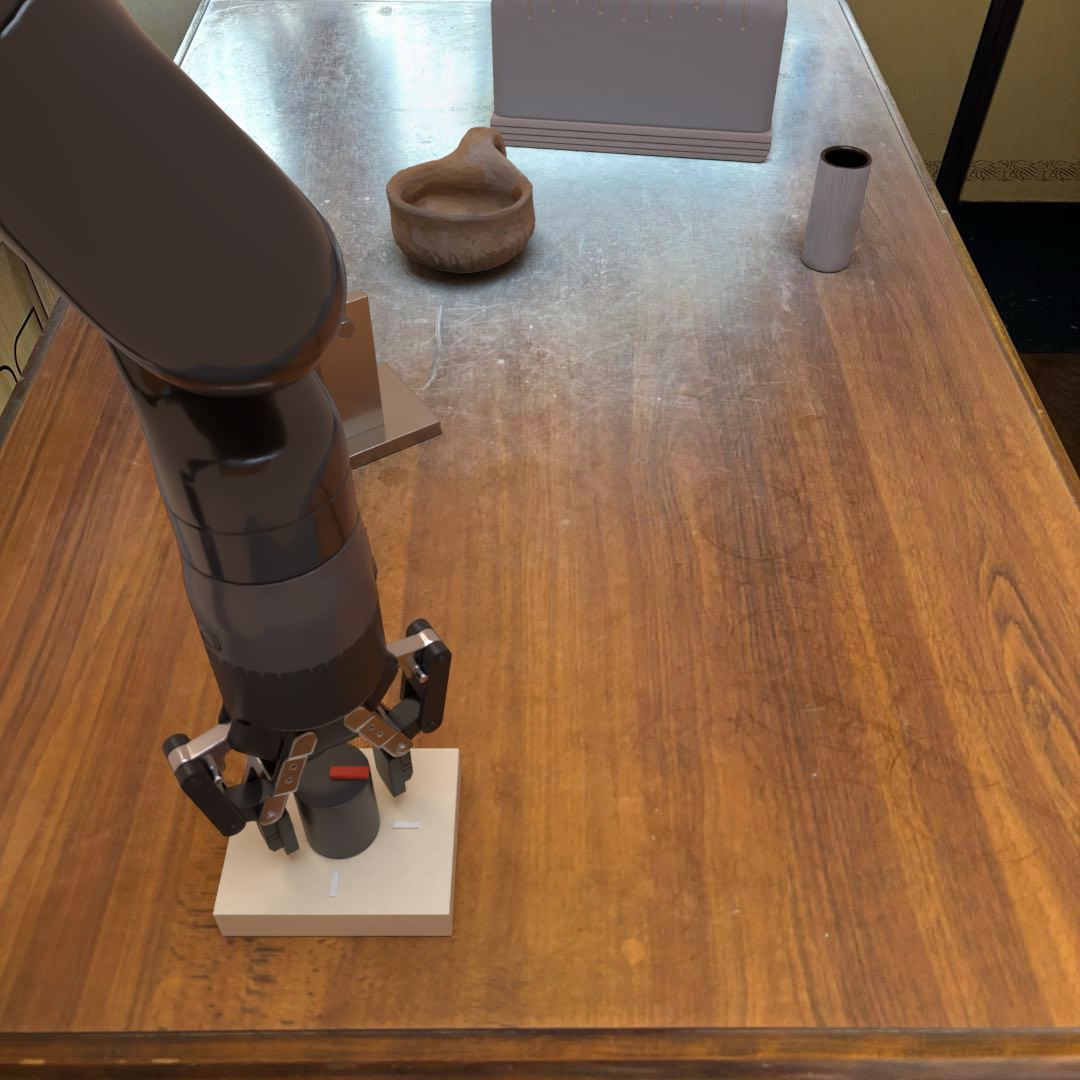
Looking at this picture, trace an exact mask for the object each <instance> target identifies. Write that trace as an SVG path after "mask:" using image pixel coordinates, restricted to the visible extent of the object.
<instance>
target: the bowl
mask: <svg viewBox="0 0 1080 1080" xmlns="http://www.w3.org/2000/svg"><path fill="white" fill-rule="evenodd" d="M457 145H458V146H457V147H456V149H454V150H453V151H451V152H450V153H449V154H447V155H445V156H443V157H441V158H438V159H433V160H429V161H425V162H422V163H418V164H415V165H412V166H408V167H406V168H402V169H400V170H398V171H397V172H396V173H395V174H393V175H392V176H391V177H390V179H389V180H388V182H387V183H386V186H385V193H386V194H385V195H386V198H387V202H388V206H389V215H390V229H391V232H392V236H393V239H394V243H395V244H396V246H397V247H398V248H399V249H400V251H401V252H402V253H403V254H404V255H406V256H407V257H408V258H409V259H412V260H413V261H414V262H417V263H419V264H422V265H423V266H426V267H429V268H431V269H434V270H437V271H440V272H441V271H442V272H447V273H455V274H468V273H470V274H471V273H472V274H473V273H477V272H482V271H487V270H490V269H493V268H496V267H499V266H501V265H502V264H505V263H508V262H510V261H511V260H512V259H513V258H515V257H516V256H518V255H519V254H520V253H521V252H522V251H523V250H525V248H526V247H527V245H528V244H529V241H530V239H531V238H532V236H533V234H534V231H535V228H536V212H535V205H534V192H533V191H534V189H533V188H534V186H533V184H532V182H531V181H530V180H529V178H528V177H527V176H526V175H525V174H524V173H523V172H522V171H521V170H520V169H519V168H518V167H517V166H516V165H515V164H514V163H513V162H512V161H511V160H509V158H508V155H507V148H506V145H505V143H504V140H503V137H502V136H501V134H500V133H499V132H498V131H497V130H495V129H493V128H490V127H488V126H472V127H470V128H469V129H468V130H467V131H466V132H465V134H464V135H463V136H462V137H461V139H460V141H459V143H458V144H457Z"/></svg>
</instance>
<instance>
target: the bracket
mask: <svg viewBox="0 0 1080 1080" xmlns="http://www.w3.org/2000/svg"><path fill="white" fill-rule="evenodd" d="M371 316H372V315H371V309H370V302H369V295H368V294H367V293H366V292H365V291H364V290H363V289H359V290H356V291H352V292H350V293H347V302H346V309H345V314H344V318H343V322H342V325H341V328H340V331H339V333H338V335H337V338H336V340H335V342H334V343H333V345H332V347H331V348H330V350H329V352H328V353H327V355H326V356H325V357H324V359H323V360H322V362H321V363H320V364H319V365H318V366H317V367H316V368H315V369H314V370H315V371H316V373H317V374H318V376H319V378H320V379H321V381H322V382H323V384H324V386H325V387H326V389H327V390H328V392H329V394H330V395H331V397H332V399H333V401H334V403H335V405H336V407H337V410H338V413H339V415H340V418H341V421H342V424H343V427H344V431H345V435H346V440H347V444H348V449H349V458H350V464H351V470H354V469H356V468H359V467H361V466H363V465H366V464H369V463H371V462H374V461H376V460H379V459H381V458H384V457H387V456H389V455H391V454H393V453H396V452H398V451H402V450H403V449H406V448H409V447H411V446H413V445H416V444H418V443H422V442H424V441H427V440H429V439H430V438H433V437H436V436H438V435H441V434H442V427H441V426H442V425H441V420H440V419H439V418H438V417H437V416H436V414H435V413H434V412H433V411H432V410H431V408H429V407H428V406H427V405H426V403H424V401H422V399H421V398H420V397H419V396H418V395H417V394H416V393H415V392H414V390H412V388H410V386H409V385H408V384H407V383H406V382H405V381H404V380H403V379H402V377H400V376H399V375H398V373H397V372H396V371H395V370H394V369H393V368H392V367H391V366H390V365H389V364H388V363H387V362H385V363H383V364H379V365H378V364H377V362H378V361H377V355H376V349H375V340H374V332H373V324H372V317H371Z"/></svg>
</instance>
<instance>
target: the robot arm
mask: <svg viewBox="0 0 1080 1080" xmlns="http://www.w3.org/2000/svg"><path fill="white" fill-rule="evenodd" d="M170 57H171V56H169V55H168V54H167V53H166V52H165V51H164V50H163V49H162V48H161V47H160V46H159V45H158V44H157V43H156V42H155V41H154V39H152V38H151V37H150V35H149V34H147V32H146V31H145V30H144V28H142V26H141V25H140V24H139V22H137V21H136V19H135V18H134V17H133V15H132V14H131V13H130V12H129V10H128V9H127V8H126V6H125V5H124V3H123V2H122V1H121V0H0V240H1V241H2V242H3V243H4V244H5V245H6V246H7V247H8V248H9V249H10V250H11V251H12V252H13V253H14V254H15V255H16V256H17V257H19V258H20V260H22V261H23V262H24V263H25V264H26V265H27V266H28V267H29V268H30V269H31V270H32V271H33V272H34V273H35V274H36V275H37V276H38V277H40V278H41V280H42V281H44V283H45V284H47V286H49V287H50V288H51V289H52V290H53V291H54V292H55V293H56V294H57V295H58V296H59V297H60V298H61V299H62V300H63V301H64V302H66V304H67V305H68V306H70V307H71V308H72V310H74V311H75V312H76V313H77V314H78V315H79V316H81V317H82V318H83V319H84V320H85V321H86V322H87V323H88V324H89V325H90V326H91V327H93V328H94V329H95V330H96V331H97V332H98V333H99V334H101V336H102V338H103V340H104V342H105V345H106V347H107V350H108V352H109V354H110V356H111V359H112V361H113V363H114V365H115V368H116V369H117V373H118V375H119V377H120V378H121V381H122V383H123V385H124V387H125V390H126V391H127V394H128V396H129V397H130V400H131V402H132V405H133V407H134V409H135V411H136V413H137V416H138V419H139V423H140V424H141V428H142V431H143V434H144V436H145V437H144V438H145V440H146V444H147V446H148V447H147V448H148V451H149V453H150V457H151V458H150V459H151V463H152V467H153V473H154V476H155V480H156V484H157V487H158V491H159V494H160V498H161V499H162V502H163V505H164V509H165V511H166V514H167V517H168V520H169V523H170V526H171V529H172V532H173V535H174V538H175V541H176V545H177V549H178V552H179V559H180V565H181V566H180V568H181V575H182V580H183V585H184V589H185V593H186V596H187V599H188V602H189V605H190V608H191V611H192V613H193V616H194V617H193V618H194V619H195V622H196V623H195V624H196V625H197V629H198V631H199V634H200V635H199V636H200V638H201V641H202V643H203V646H204V649H205V653H206V655H207V658H208V661H209V664H210V667H211V669H212V672H213V675H214V678H215V681H216V685H217V687H218V690H219V693H220V697H221V699H222V703H221V708H220V710H219V712H218V716H217V725H215V726H213V727H212V728H210V729H208V730H207V731H205V732H204V733H201V734H200V735H198V736H197V737H195V738H194V739H192V740H191V738H190V737H189V736H188V735H187V734H186V733H181V732H180V733H175V734H172V735H170V736H169V737H167V738H166V739H165V740H164V741H163V743H162V745H161V749H162V752H163V754H164V757H165V758H166V760H167V763H168V764H169V767H170V768H171V771H172V773H173V775H174V776H175V779H176V780H177V782H178V785H179V787H180V789H181V790H182V791H183V792H184V794H185V795H186V796H187V798H189V800H190V801H191V802H192V803H193V804H194V805H195V806H196V807H197V808H198V809H199V810H200V811H201V813H202V814H203V815H204V816H205V817H206V818H207V820H209V822H210V823H211V824H212V825H213V826H214V827H215V829H217V831H218V832H219V833H220V834H221V835H222V836H223V837H226V838H229V837H230V836H234V835H236V834H238V833H240V832H241V831H242V830H243V829H244V828H245V826H246V822H250V821H256V824H257V826H258V829H259V831H260V833H261V835H262V836H263V838H264V840H265V842H266V844H267V846H268V848H269V849H270V850H272V851H274V852H275V851H277V850H279V849H281V848H283V849H284V851H285V853H286V854H287V856H288V855H289V854H291V853H293V852H295V851H297V850H299V849H300V847H299V844H298V841H297V837H296V834H295V831H294V828H293V825H292V821H291V818H290V815H289V813H288V811H287V809H286V807H285V806H286V803H287V800H288V797H289V793H293V792H296V791H297V790H298V787H299V784H300V780H301V777H302V774H303V771H304V768H305V765H306V763H308V762H310V761H312V760H314V759H316V758H317V757H318V756H320V755H321V754H323V753H324V752H326V751H327V750H328V749H330V748H333V747H336V746H339V745H342V744H345V743H349V742H351V741H353V740H355V739H357V738H359V737H360V736H361V738H363V739H365V741H367V742H369V743H370V744H371V748H372V749H373V754H374V760H375V765H376V769H377V771H378V774H379V775H380V777H381V779H382V780H383V782H384V784H385V785H386V787H387V788H388V790H389V791H390V793H391V795H392V796H393V797H394V798H395V797H397V796H399V795H401V794H402V793H404V792H406V786H405V782H406V781H408V780H410V779H411V777H412V774H413V767H412V762H411V761H412V760H411V753H410V749H411V748H412V747H413V739H414V738H415V737H416V736H417V735H418V734H419V733H420V732H422V733H423V734H425V735H426V734H427V735H429V734H431V733H434V732H436V731H437V730H438V729H439V728H440V727H441V725H442V724H443V721H444V714H445V706H446V700H447V693H448V685H449V678H450V672H451V664H452V658H453V655H452V654H453V653H452V651H451V650H450V648H448V646H447V645H446V644H445V642H444V641H443V640H442V638H441V636H439V635H438V633H437V631H435V629H434V628H433V627H432V625H431V624H430V622H429V621H428V620H427V619H426V618H421V617H420V618H416V619H415V620H413V621H412V622H410V624H409V625H408V626H407V628H406V631H405V637H404V638H401V639H397V640H395V641H392V642H389V643H387V642H386V634H385V628H384V622H383V615H382V610H381V609H382V608H381V603H380V597H379V590H378V583H377V581H378V568H377V567H378V566H377V563H376V559H375V557H374V555H373V553H372V548H371V544H370V539H369V536H368V532H367V529H366V527H365V524H364V522H363V519H362V516H361V514H360V509H359V505H358V501H357V496H356V495H357V494H356V490H355V489H356V488H355V483H354V476H353V471H352V470H353V469H352V470H351V464H350V458H349V449H348V444H347V440H346V435H345V431H344V427H343V424H342V421H341V418H340V415H339V413H338V410H337V407H336V405H335V403H334V401H333V399H332V397H331V395H330V394H329V392H328V390H327V389H326V387H325V386H324V384H323V382H322V381H321V379H320V378H319V376H318V374H317V373H316V371H315V370H314V369H315V368H316V367H317V366H318V365H319V364H320V363H321V362H322V360H323V359H324V357H325V356H326V355H327V353H328V352H329V350H330V348H331V347H332V345H333V343H334V342H335V340H336V338H337V335H338V333H339V331H340V328H341V325H342V322H343V318H344V314H345V309H346V302H347V294H348V279H347V272H346V264H345V261H344V257H343V253H342V250H341V246H340V244H339V241H338V239H337V237H336V235H335V233H334V232H335V231H334V230H333V228H332V226H331V224H330V222H329V221H328V219H327V218H326V217H325V215H324V214H323V212H322V211H321V210H320V208H319V207H318V206H317V205H316V203H315V202H314V200H312V198H310V197H309V196H308V195H307V194H306V192H305V191H303V189H302V188H300V187H299V185H297V183H296V182H295V181H293V180H292V178H291V177H290V176H289V175H288V174H287V173H286V172H285V171H284V170H283V169H282V168H281V167H280V166H279V165H278V164H277V163H276V162H275V161H274V160H273V159H272V158H271V157H270V155H269V154H268V153H267V152H266V151H265V150H264V149H263V148H262V147H261V145H259V144H258V143H257V142H256V141H255V140H254V139H253V137H251V135H249V134H248V133H247V132H246V131H245V130H244V129H243V128H242V127H240V126H239V124H237V123H236V122H235V121H234V120H233V119H232V118H231V116H229V114H227V113H226V112H225V111H224V110H223V109H222V108H221V106H219V104H217V103H216V101H214V100H213V99H212V97H210V96H209V95H208V94H207V93H206V91H204V90H203V89H202V88H201V87H200V86H199V85H198V84H197V83H196V81H194V80H193V78H191V77H190V75H188V74H187V73H186V72H185V71H184V70H183V69H182V67H180V66H179V65H178V64H177V63H176V62H175V61H174V60H173V59H172V58H170ZM399 669H401V678H400V680H401V681H400V688H399V700H400V701H399V702H398V703H397V704H396V705H394V706H393V707H392V708H390V707H388V706H387V705H386V704H385V703H384V702H382V701H383V700H384V697H385V696H386V694H387V693H388V691H389V689H390V688H391V686H392V684H393V683H394V681H395V679H396V677H397V676H398V672H399ZM232 750H233V751H235V752H237V753H239V754H244V755H246V760H247V762H246V761H245V764H246V766H244V770H243V773H242V777H241V780H240V783H239V784H236V785H232V786H228V784H227V783H226V781H225V777H224V775H223V772H224V771H225V769H226V767H227V763H226V761H225V759H226V756H227V755H228V754H229V752H230V751H232Z"/></svg>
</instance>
